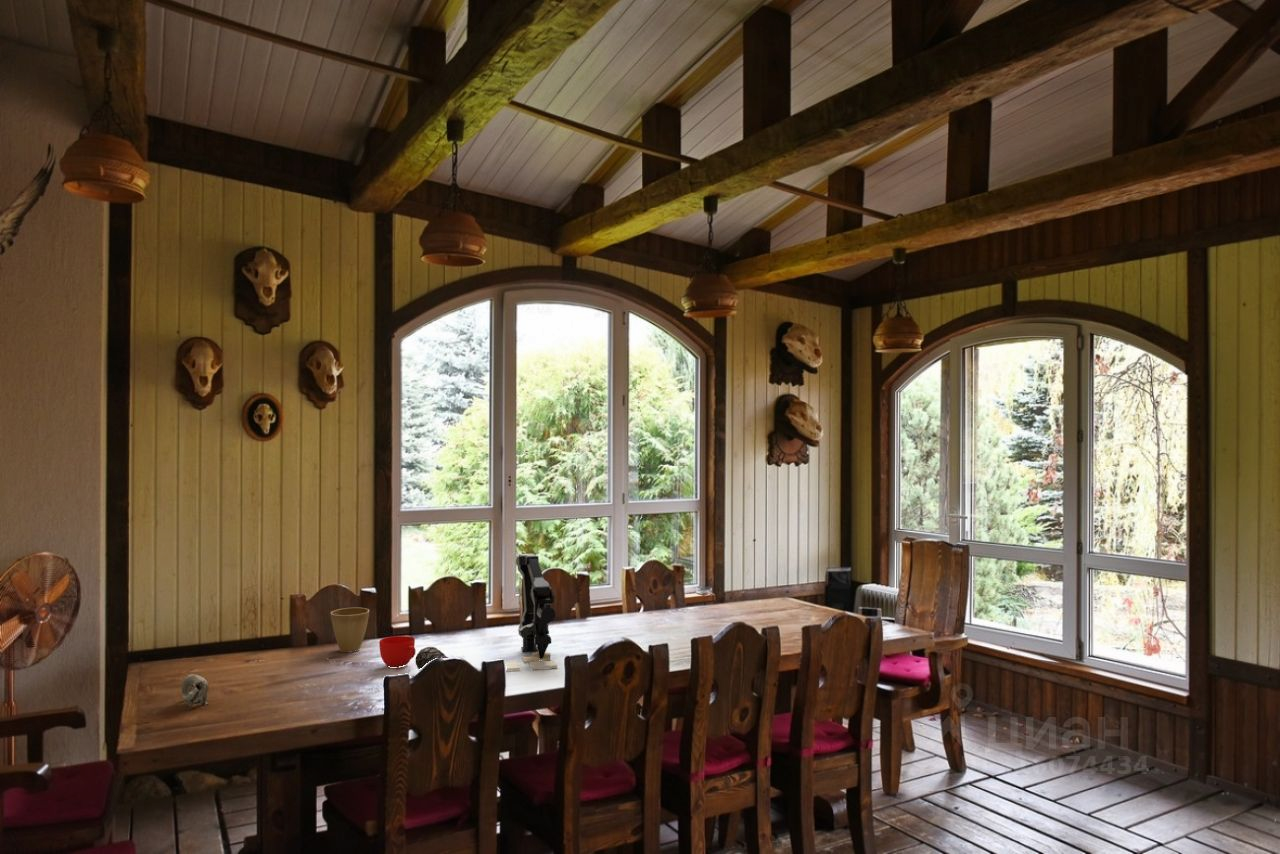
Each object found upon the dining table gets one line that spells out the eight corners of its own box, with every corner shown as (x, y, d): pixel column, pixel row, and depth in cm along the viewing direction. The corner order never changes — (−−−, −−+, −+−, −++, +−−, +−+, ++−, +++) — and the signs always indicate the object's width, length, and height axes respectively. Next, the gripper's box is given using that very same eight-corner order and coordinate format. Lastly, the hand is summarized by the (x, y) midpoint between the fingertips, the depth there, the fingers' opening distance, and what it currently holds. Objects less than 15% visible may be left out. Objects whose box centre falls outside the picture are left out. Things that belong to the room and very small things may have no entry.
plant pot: (328, 648, 340) (329, 609, 340) (366, 644, 346) (367, 606, 346) (331, 656, 326) (332, 616, 327) (371, 652, 333) (371, 613, 333)
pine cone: (437, 683, 290) (438, 655, 290) (409, 674, 302) (409, 646, 302) (462, 677, 298) (462, 649, 298) (433, 668, 310) (434, 641, 310)
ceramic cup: (399, 674, 301) (400, 647, 301) (371, 667, 311) (372, 640, 312) (428, 667, 311) (428, 640, 312) (400, 660, 322) (400, 634, 322)
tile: (499, 663, 313) (501, 668, 306) (517, 662, 315) (520, 667, 308) (499, 667, 313) (501, 673, 306) (517, 666, 315) (520, 671, 308)
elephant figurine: (208, 687, 276) (206, 657, 268) (212, 720, 266) (210, 690, 259) (181, 692, 272) (178, 662, 264) (184, 726, 262) (181, 696, 255)
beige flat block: (522, 659, 324) (522, 653, 324) (549, 657, 326) (549, 651, 326) (523, 662, 319) (523, 656, 319) (550, 661, 321) (550, 655, 321)
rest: (529, 665, 315) (529, 661, 315) (555, 663, 317) (555, 660, 317) (530, 669, 308) (530, 666, 308) (557, 668, 310) (557, 665, 310)
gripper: (518, 613, 330) (518, 652, 330) (522, 623, 312) (521, 664, 312) (546, 612, 333) (546, 651, 332) (551, 622, 314) (551, 663, 314)
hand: (540, 657), depth 323 cm, fingers closed on beige flat block, 3 cm apart
